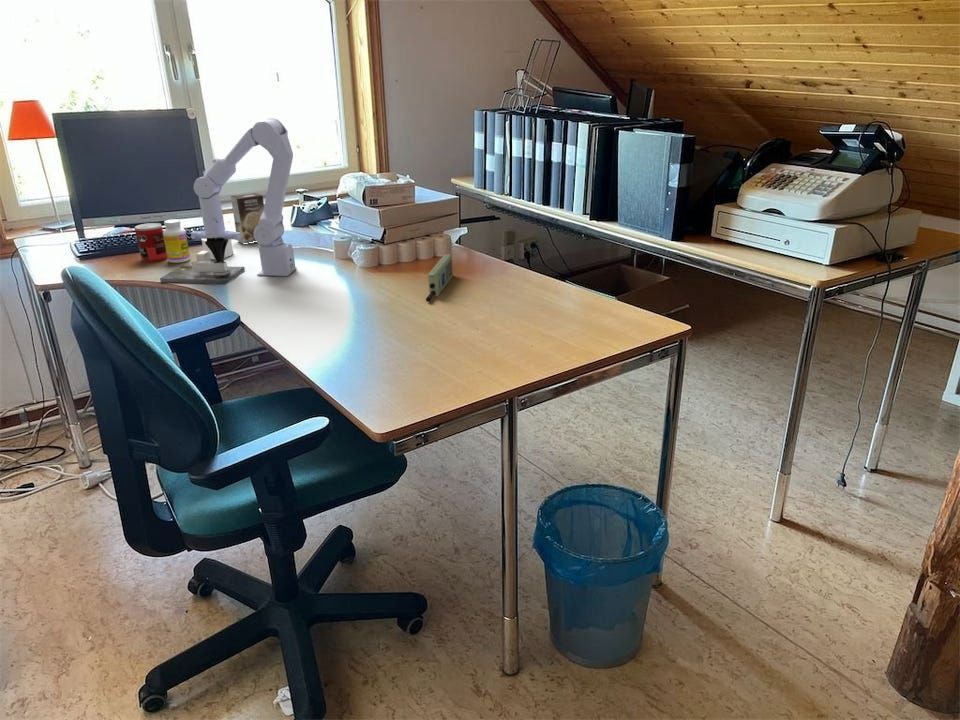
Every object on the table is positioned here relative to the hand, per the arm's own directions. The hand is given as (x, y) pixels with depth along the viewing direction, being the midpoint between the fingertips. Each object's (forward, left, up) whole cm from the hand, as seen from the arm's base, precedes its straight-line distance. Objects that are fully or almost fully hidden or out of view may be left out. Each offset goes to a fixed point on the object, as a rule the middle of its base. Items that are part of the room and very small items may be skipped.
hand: (220, 262), depth 210 cm
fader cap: (+5, 0, -1) cm, 5 cm away
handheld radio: (-69, +10, -3) cm, 70 cm away
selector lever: (0, +7, -1) cm, 7 cm away
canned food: (+29, -12, -3) cm, 31 cm away
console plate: (+4, +4, -3) cm, 7 cm away
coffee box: (+6, -36, -3) cm, 37 cm away
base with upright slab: (+10, -18, -3) cm, 21 cm away
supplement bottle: (+20, -11, -3) cm, 23 cm away
